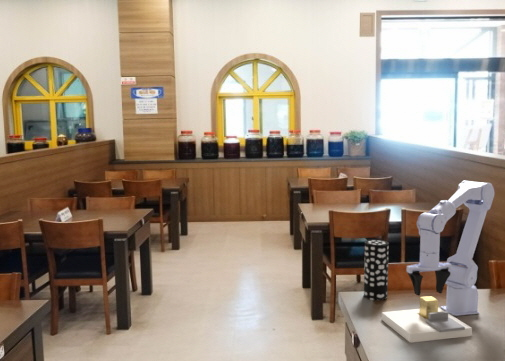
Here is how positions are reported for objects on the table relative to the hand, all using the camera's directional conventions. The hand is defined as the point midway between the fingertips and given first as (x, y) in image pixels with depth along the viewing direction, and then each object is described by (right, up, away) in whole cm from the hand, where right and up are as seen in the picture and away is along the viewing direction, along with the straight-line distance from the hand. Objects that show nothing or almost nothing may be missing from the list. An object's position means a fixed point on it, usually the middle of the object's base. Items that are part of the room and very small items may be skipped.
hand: (428, 293), depth 168 cm
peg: (0, -9, 0) cm, 9 cm away
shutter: (+2, -8, -9) cm, 12 cm away
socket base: (-2, -10, -3) cm, 11 cm away
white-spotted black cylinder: (-11, -7, +25) cm, 28 cm away
